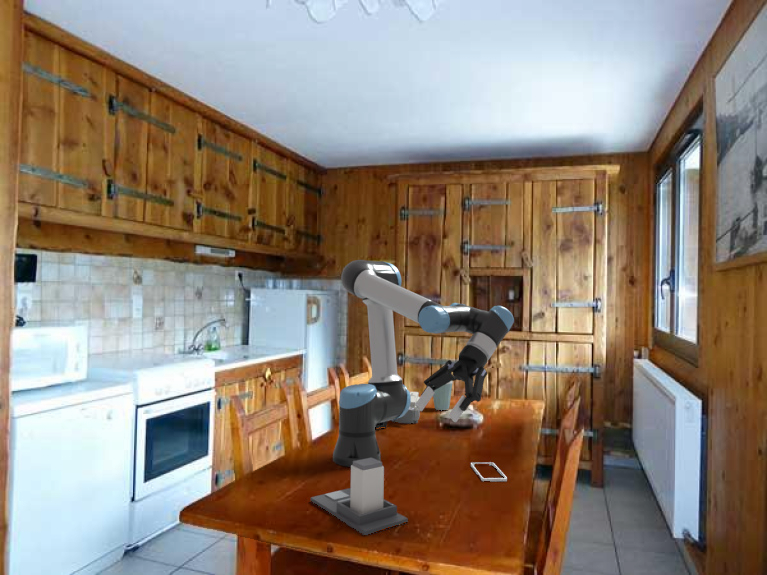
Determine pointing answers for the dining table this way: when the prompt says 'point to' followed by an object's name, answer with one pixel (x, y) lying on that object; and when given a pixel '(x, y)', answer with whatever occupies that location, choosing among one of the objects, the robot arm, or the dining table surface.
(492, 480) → the silver rectangular frame
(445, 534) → the dining table surface
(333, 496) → the grey socket base plate
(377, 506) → the plug
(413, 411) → the electrical outlet
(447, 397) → the disposable coffee cup
